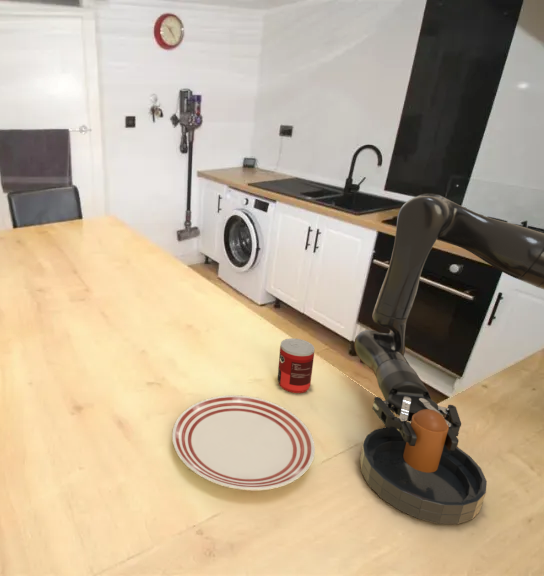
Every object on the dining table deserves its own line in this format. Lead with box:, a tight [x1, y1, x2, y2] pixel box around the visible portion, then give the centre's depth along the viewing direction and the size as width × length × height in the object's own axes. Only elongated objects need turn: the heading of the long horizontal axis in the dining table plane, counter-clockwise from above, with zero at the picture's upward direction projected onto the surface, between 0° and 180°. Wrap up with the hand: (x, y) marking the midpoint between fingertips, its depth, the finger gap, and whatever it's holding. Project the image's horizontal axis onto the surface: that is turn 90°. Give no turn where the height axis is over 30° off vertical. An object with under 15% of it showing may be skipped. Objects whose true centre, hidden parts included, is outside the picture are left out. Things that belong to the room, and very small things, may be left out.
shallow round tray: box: [359, 426, 488, 525], centre depth 72 cm, size 18×18×4 cm
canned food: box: [277, 337, 315, 394], centre depth 100 cm, size 8×8×11 cm
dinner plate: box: [171, 394, 316, 491], centre depth 81 cm, size 28×27×3 cm
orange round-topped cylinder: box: [403, 409, 449, 473], centre depth 70 cm, size 5×5×10 cm
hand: (433, 444), depth 67 cm, fingers closed on orange round-topped cylinder, 5 cm apart
